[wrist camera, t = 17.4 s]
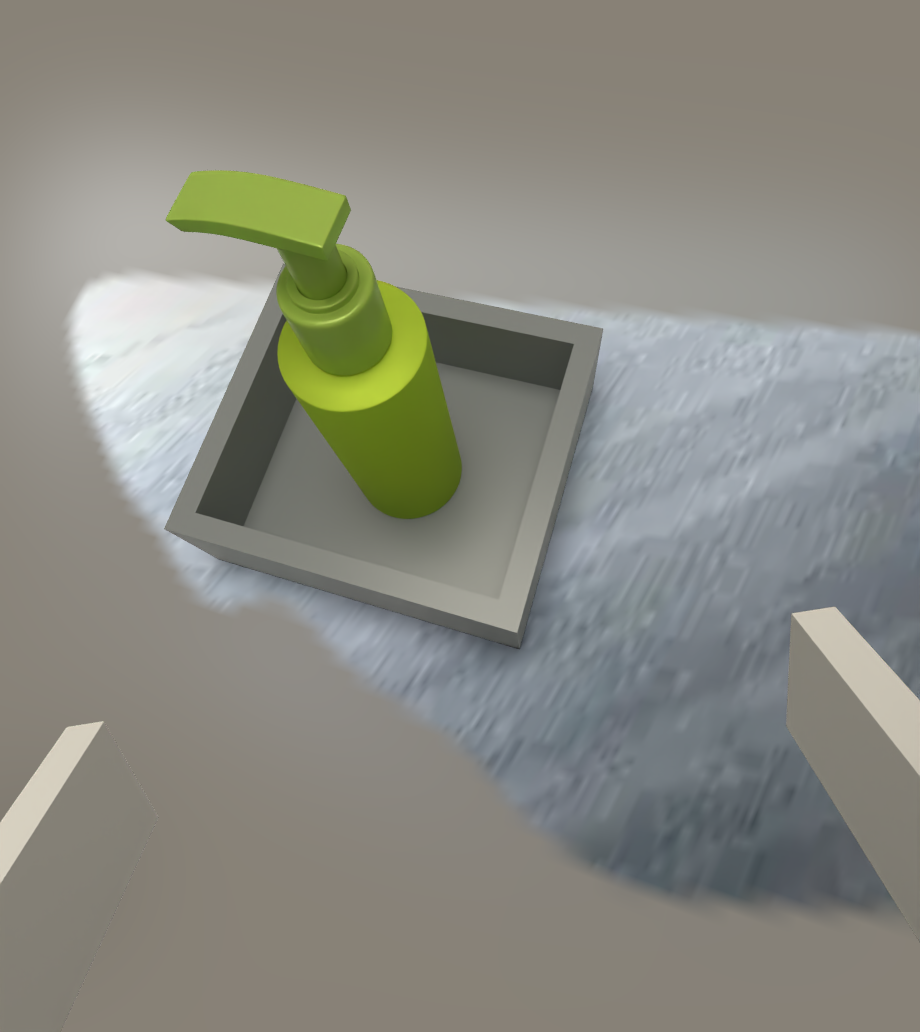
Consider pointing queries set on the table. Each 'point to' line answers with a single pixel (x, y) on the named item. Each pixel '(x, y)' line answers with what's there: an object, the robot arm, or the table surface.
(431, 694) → the table surface
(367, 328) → the soap dispenser
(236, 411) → the crate
